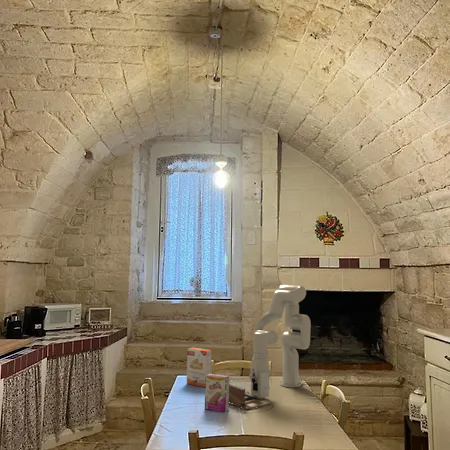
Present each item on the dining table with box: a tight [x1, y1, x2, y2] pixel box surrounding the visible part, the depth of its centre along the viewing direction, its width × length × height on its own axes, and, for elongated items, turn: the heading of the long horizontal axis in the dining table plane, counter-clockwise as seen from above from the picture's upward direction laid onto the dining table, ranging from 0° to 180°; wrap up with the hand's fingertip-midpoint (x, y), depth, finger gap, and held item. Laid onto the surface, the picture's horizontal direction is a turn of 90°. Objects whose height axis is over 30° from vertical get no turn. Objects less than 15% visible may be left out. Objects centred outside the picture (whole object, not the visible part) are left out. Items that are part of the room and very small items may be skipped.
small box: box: [250, 372, 270, 399], centre depth 234 cm, size 8×6×13 cm
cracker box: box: [186, 347, 213, 388], centre depth 259 cm, size 14×6×21 cm, turn 58°
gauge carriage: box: [245, 391, 262, 401], centre depth 225 cm, size 8×16×2 cm, turn 38°
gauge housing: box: [229, 383, 272, 410], centre depth 226 cm, size 16×18×9 cm
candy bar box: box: [204, 373, 230, 413], centre depth 214 cm, size 11×5×16 cm, turn 71°
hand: (260, 389), depth 234 cm, fingers closed on small box, 6 cm apart
